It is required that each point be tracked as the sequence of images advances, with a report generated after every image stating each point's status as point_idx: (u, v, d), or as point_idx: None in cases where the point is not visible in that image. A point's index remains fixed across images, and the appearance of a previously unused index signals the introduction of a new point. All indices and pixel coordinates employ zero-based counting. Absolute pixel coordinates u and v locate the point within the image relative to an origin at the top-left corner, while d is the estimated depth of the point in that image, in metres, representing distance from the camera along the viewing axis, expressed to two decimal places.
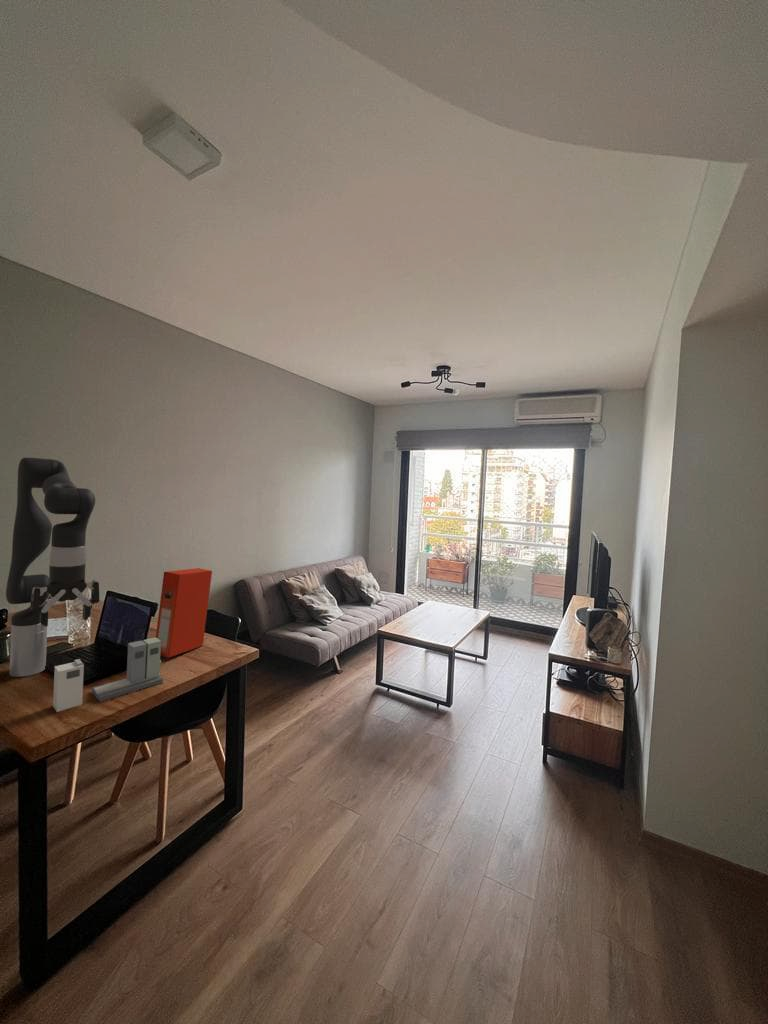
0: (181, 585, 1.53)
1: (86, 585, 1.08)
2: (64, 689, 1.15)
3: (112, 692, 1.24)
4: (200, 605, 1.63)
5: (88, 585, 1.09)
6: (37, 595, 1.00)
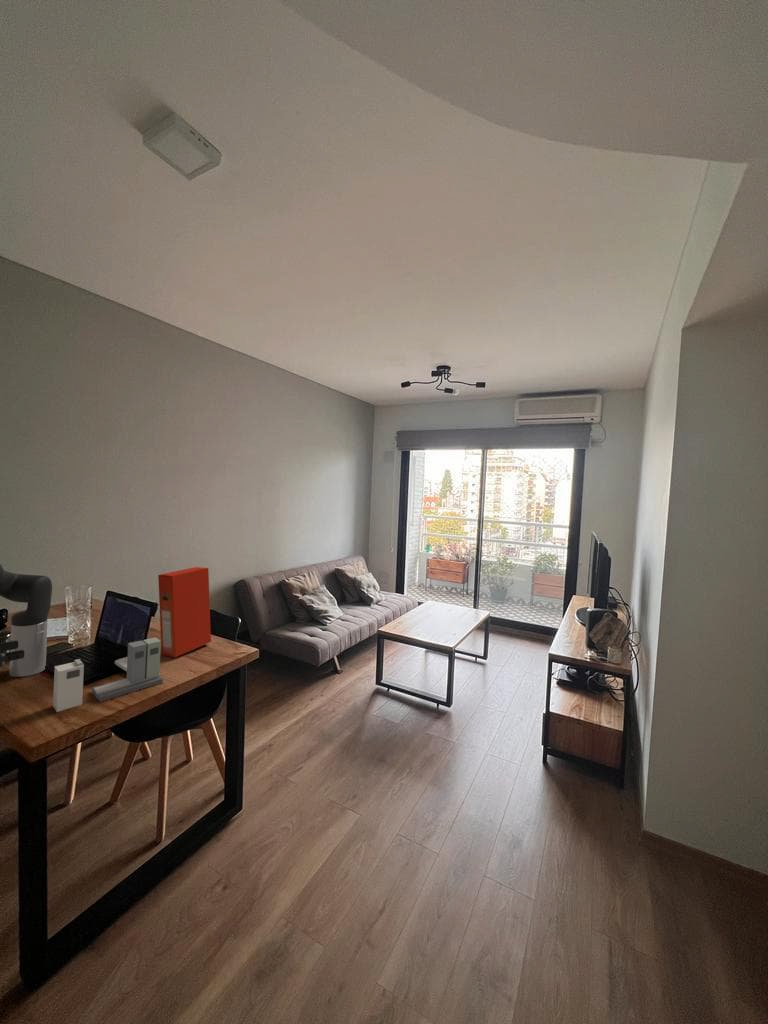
0: (176, 586, 1.53)
1: None
2: (64, 689, 1.15)
3: (112, 692, 1.24)
4: (201, 603, 1.64)
5: None
6: None
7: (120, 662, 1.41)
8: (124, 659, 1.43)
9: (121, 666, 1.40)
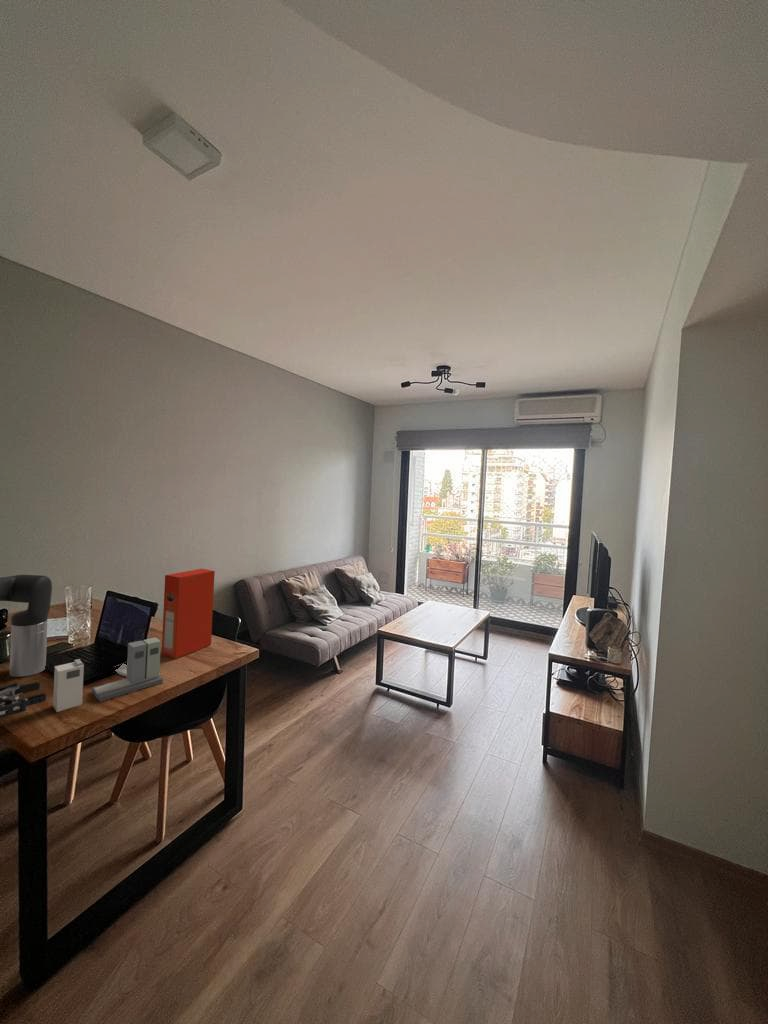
0: (182, 588, 1.53)
1: None
2: (64, 689, 1.15)
3: (112, 692, 1.24)
4: (204, 606, 1.64)
5: None
6: None
7: (116, 669, 1.40)
8: (120, 666, 1.42)
9: (118, 672, 1.39)
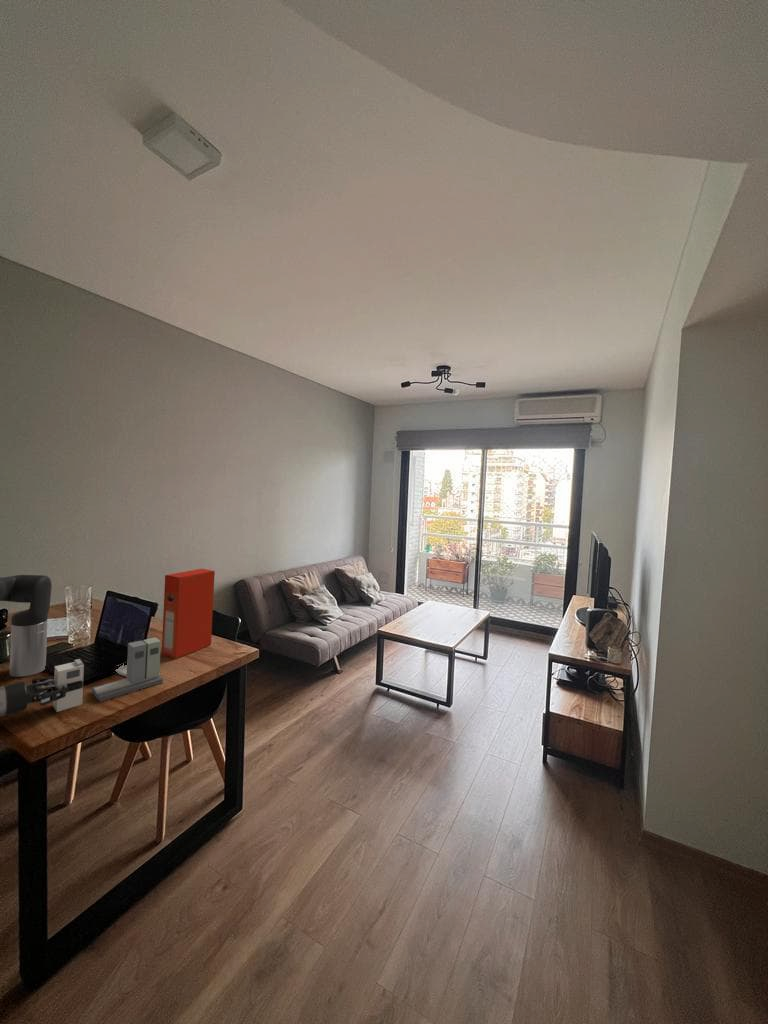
0: (182, 588, 1.53)
1: (38, 700, 1.09)
2: None
3: (112, 692, 1.24)
4: (204, 606, 1.64)
5: None
6: None
7: (116, 669, 1.40)
8: (120, 666, 1.42)
9: (118, 672, 1.39)
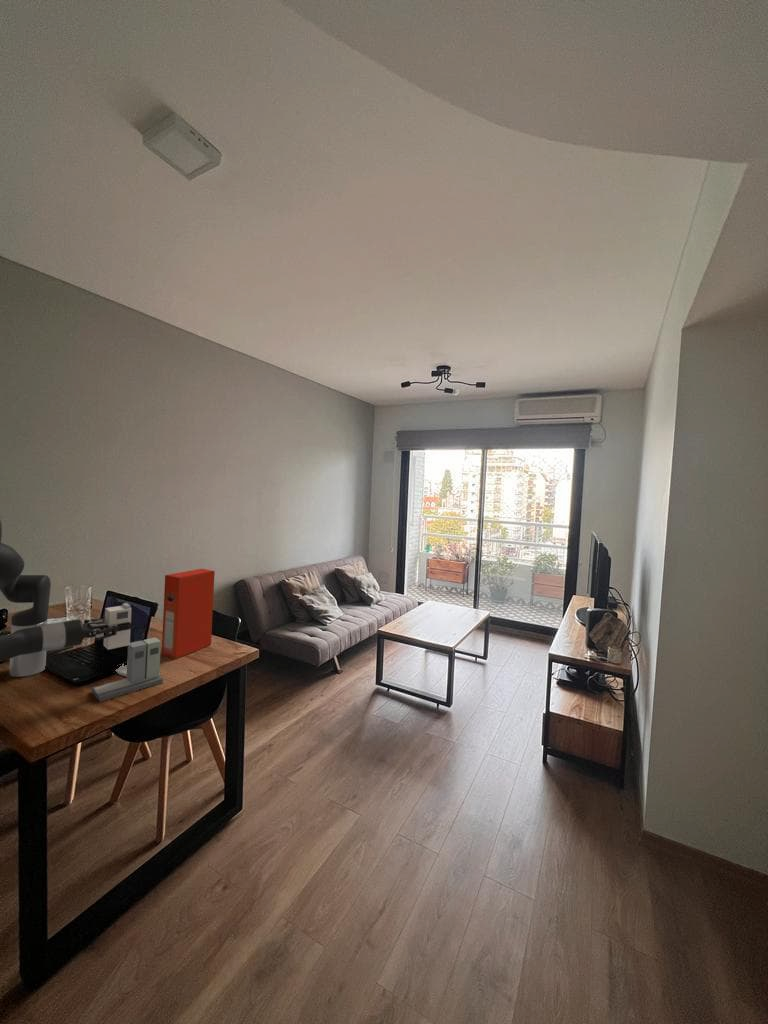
0: (182, 588, 1.53)
1: (93, 636, 1.18)
2: None
3: (112, 692, 1.24)
4: (204, 606, 1.64)
5: None
6: None
7: (116, 669, 1.40)
8: (120, 666, 1.42)
9: (118, 672, 1.39)
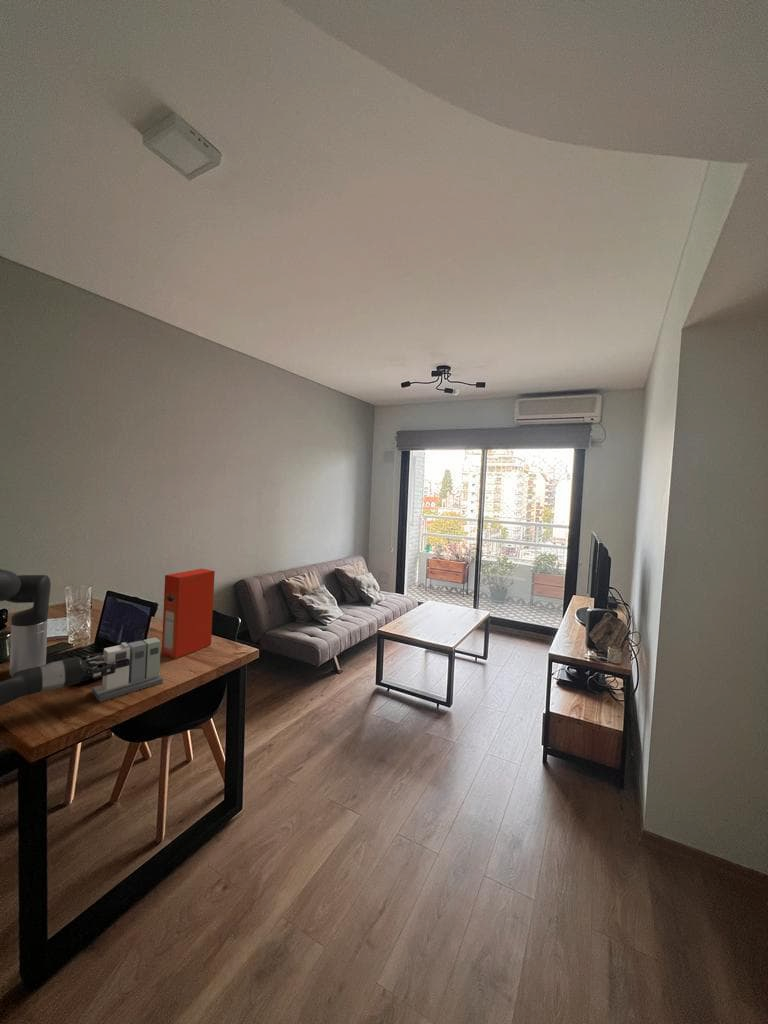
0: (182, 588, 1.53)
1: None
2: None
3: (112, 692, 1.24)
4: (204, 606, 1.64)
5: None
6: None
7: None
8: None
9: None
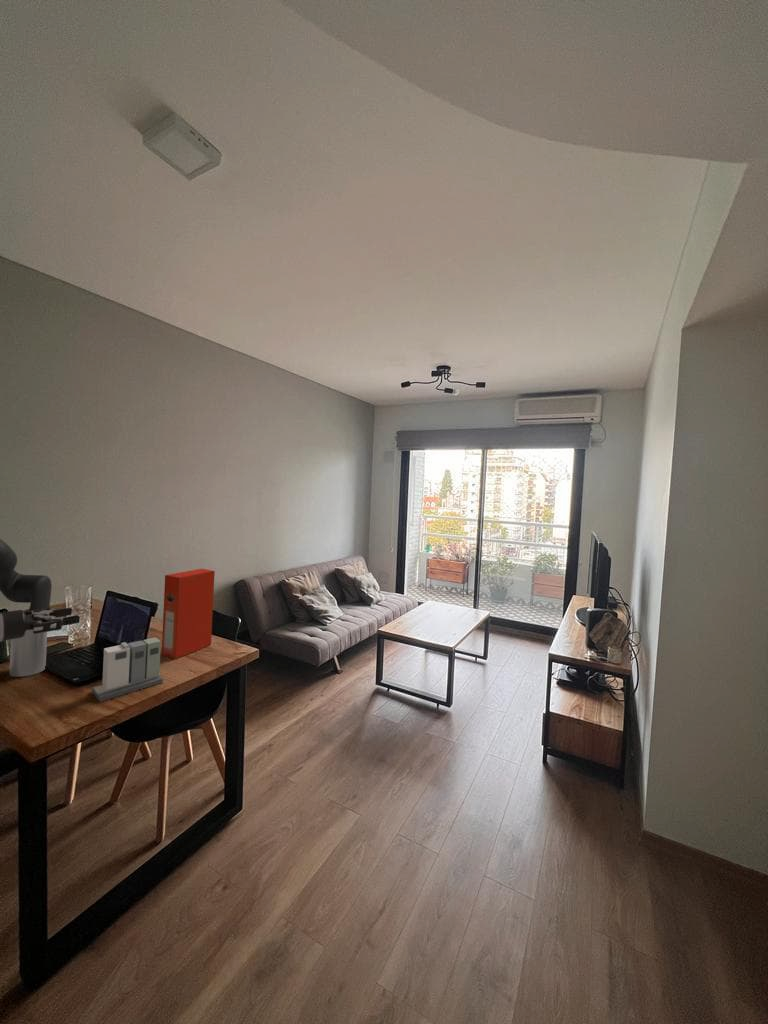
0: (182, 588, 1.53)
1: None
2: (112, 669, 1.24)
3: (112, 692, 1.24)
4: (204, 606, 1.64)
5: None
6: None
7: None
8: None
9: None
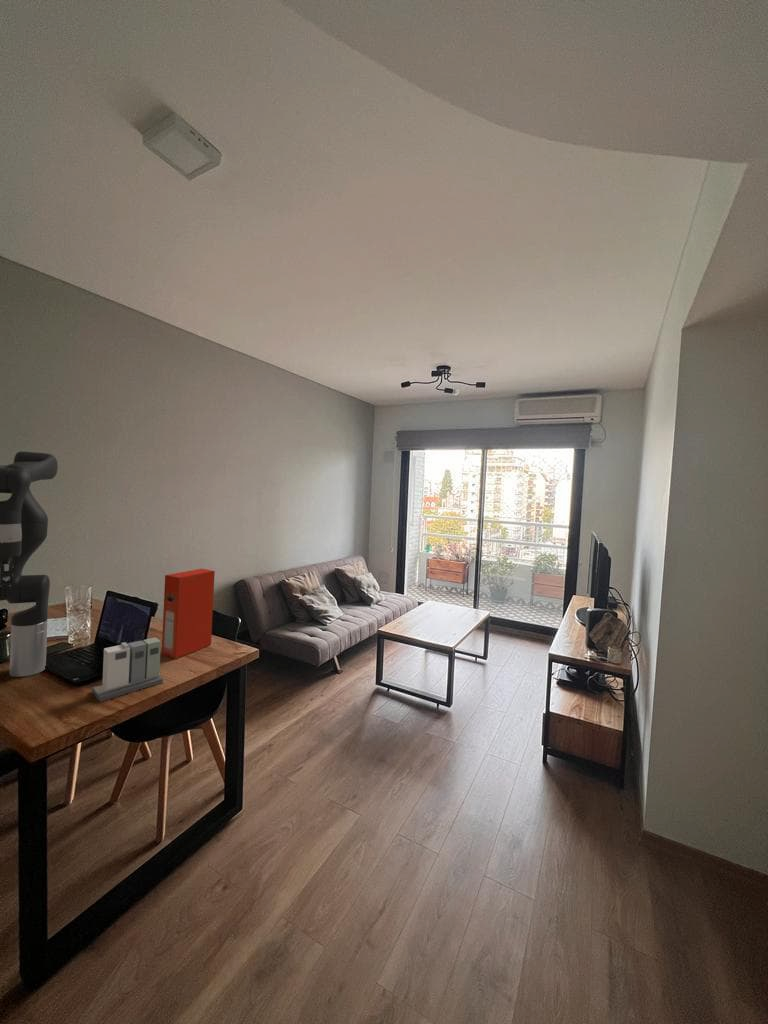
0: (182, 588, 1.53)
1: None
2: (112, 669, 1.24)
3: (112, 692, 1.24)
4: (204, 606, 1.64)
5: None
6: None
7: None
8: None
9: None
